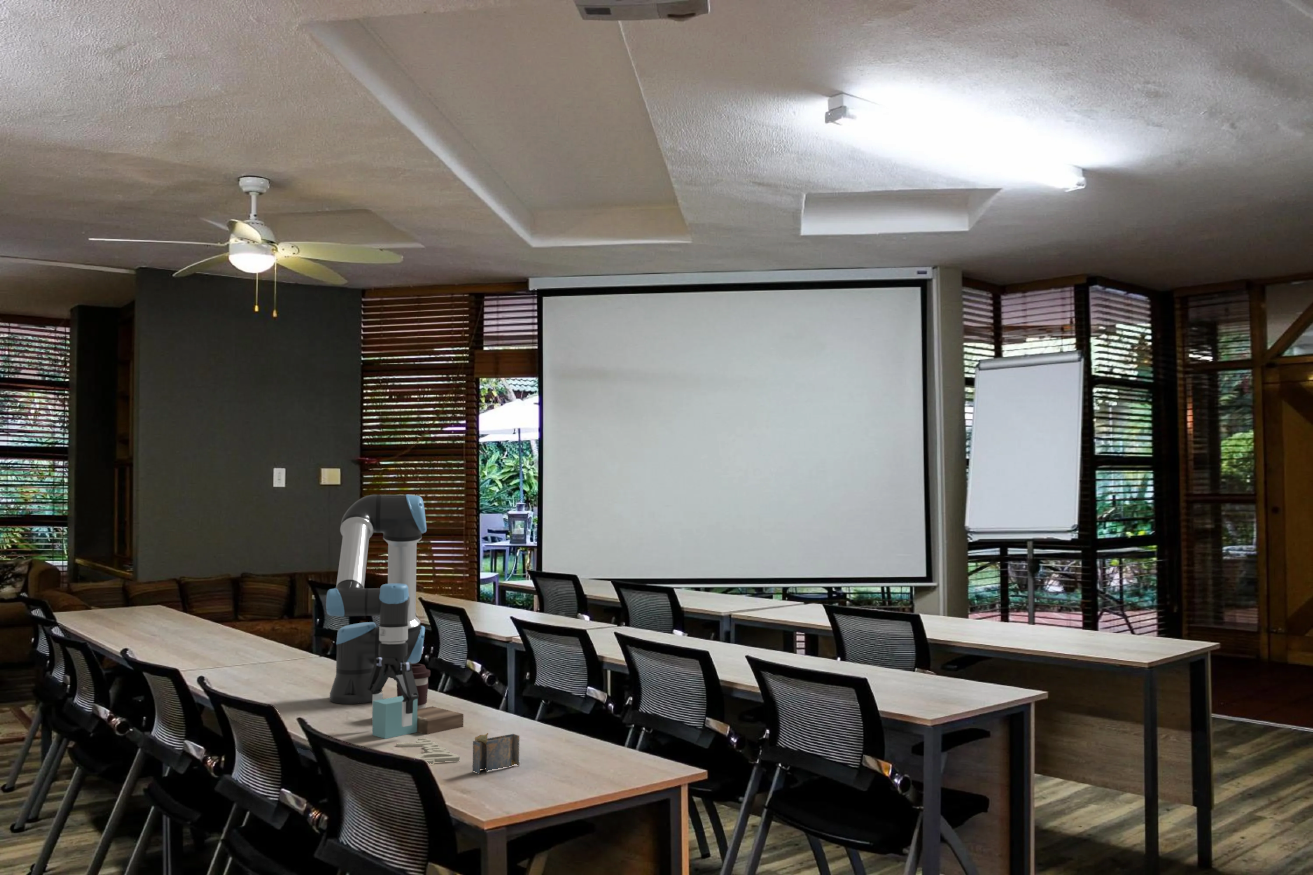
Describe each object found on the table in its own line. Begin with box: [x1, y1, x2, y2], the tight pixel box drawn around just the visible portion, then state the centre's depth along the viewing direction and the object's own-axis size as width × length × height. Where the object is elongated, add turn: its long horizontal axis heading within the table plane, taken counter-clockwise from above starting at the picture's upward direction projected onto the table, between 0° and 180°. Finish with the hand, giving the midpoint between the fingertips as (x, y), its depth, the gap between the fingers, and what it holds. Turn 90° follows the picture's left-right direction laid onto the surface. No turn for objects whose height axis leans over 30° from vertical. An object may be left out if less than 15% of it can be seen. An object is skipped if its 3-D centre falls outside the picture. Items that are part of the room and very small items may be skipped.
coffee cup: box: [396, 663, 431, 709], centre depth 302 cm, size 10×10×15 cm
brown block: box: [416, 705, 464, 735], centre depth 290 cm, size 14×12×4 cm
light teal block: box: [371, 696, 418, 740], centre depth 281 cm, size 6×10×9 cm, turn 139°
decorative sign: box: [395, 737, 461, 764], centre depth 263 cm, size 23×2×10 cm
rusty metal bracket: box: [472, 732, 520, 773], centre depth 249 cm, size 11×3×10 cm, turn 131°
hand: (391, 721), depth 280 cm, fingers open, 13 cm apart
